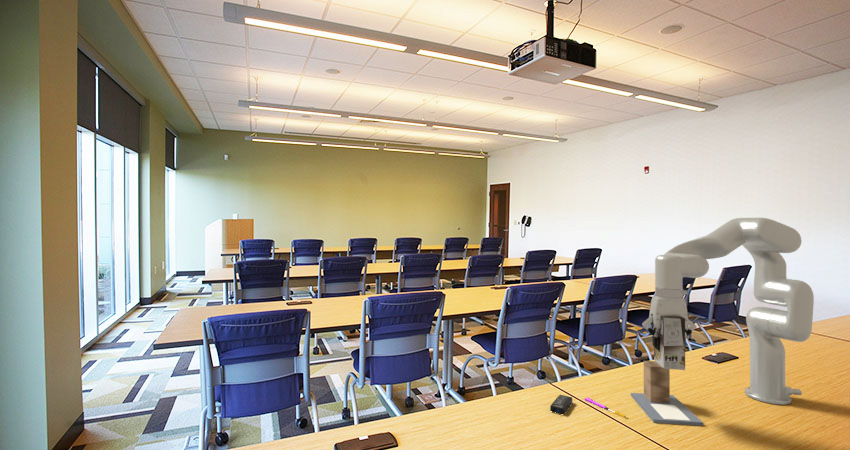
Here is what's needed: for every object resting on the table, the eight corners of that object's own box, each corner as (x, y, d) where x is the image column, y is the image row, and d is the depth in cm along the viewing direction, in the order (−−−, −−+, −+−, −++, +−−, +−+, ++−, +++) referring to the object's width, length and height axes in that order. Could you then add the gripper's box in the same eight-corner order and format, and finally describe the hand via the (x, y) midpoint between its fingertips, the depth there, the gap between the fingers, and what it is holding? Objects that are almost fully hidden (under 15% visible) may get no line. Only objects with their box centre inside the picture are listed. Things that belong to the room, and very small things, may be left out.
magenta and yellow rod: (584, 400, 141) (626, 420, 127) (584, 397, 141) (626, 416, 127) (588, 400, 143) (631, 420, 129) (589, 397, 143) (631, 416, 129)
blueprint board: (673, 397, 143) (672, 361, 143) (703, 425, 123) (702, 383, 123) (630, 395, 145) (630, 359, 145) (653, 422, 125) (653, 380, 125)
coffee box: (686, 370, 125) (686, 318, 125) (663, 369, 126) (663, 317, 126) (674, 360, 134) (674, 312, 134) (653, 359, 135) (652, 311, 135)
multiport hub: (572, 403, 139) (572, 397, 139) (563, 416, 130) (563, 409, 130) (559, 400, 142) (559, 394, 142) (549, 412, 133) (549, 405, 133)
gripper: (692, 292, 132) (692, 346, 132) (635, 291, 135) (635, 344, 135) (704, 296, 125) (704, 354, 125) (644, 294, 127) (644, 351, 127)
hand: (668, 348), depth 130 cm, fingers closed on coffee box, 6 cm apart
